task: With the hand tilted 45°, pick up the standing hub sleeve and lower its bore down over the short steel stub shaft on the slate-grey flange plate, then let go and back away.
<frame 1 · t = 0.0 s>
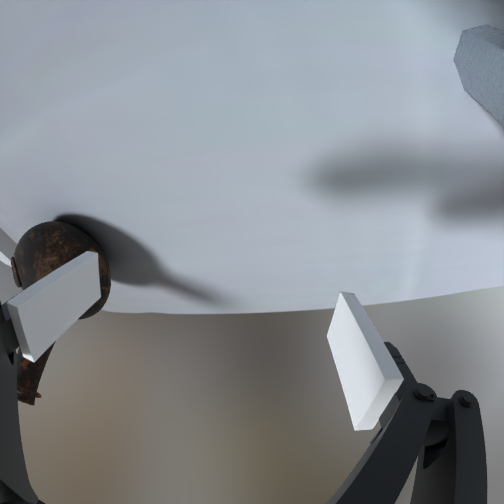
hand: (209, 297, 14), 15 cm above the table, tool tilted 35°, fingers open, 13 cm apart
dark brown rounded piece: (77, 240, 40), on the table
hub: (488, 65, 12), on the table
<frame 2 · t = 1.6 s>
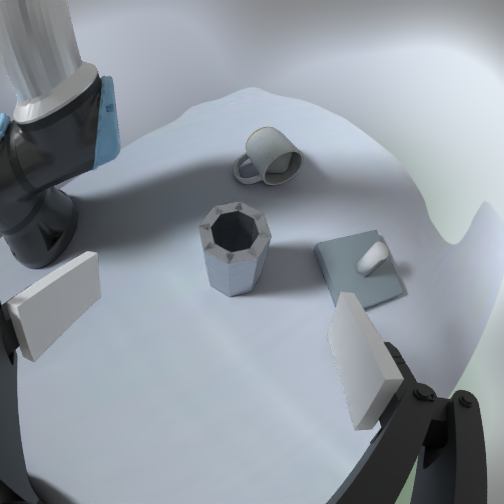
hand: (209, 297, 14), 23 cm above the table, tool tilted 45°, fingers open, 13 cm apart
hub: (233, 270, 39), on the table
ceramic mug: (263, 172, 48), on the table
peg block: (357, 273, 41), on the table
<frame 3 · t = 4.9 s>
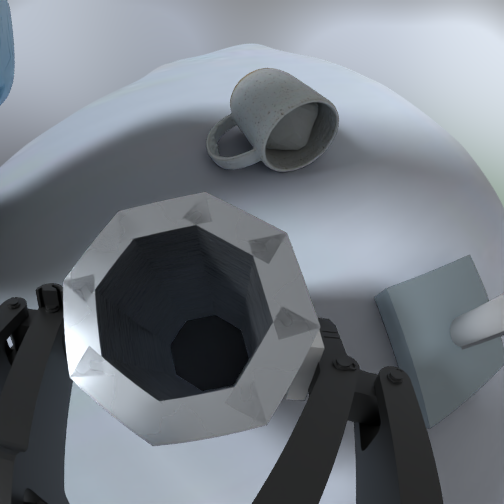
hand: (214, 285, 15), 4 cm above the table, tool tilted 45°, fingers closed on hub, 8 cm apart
hub: (208, 352, 17), on the table, touching gripper
ceramic mug: (264, 150, 26), on the table
peg block: (444, 337, 18), on the table
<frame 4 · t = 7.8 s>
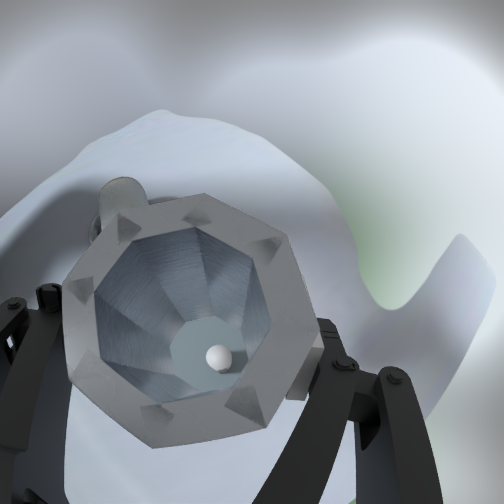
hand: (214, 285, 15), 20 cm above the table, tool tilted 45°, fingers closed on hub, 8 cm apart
hub: (208, 353, 17), point 16 cm above the table, touching gripper
ceramic mug: (124, 230, 39), on the table
peg block: (221, 362, 32), on the table
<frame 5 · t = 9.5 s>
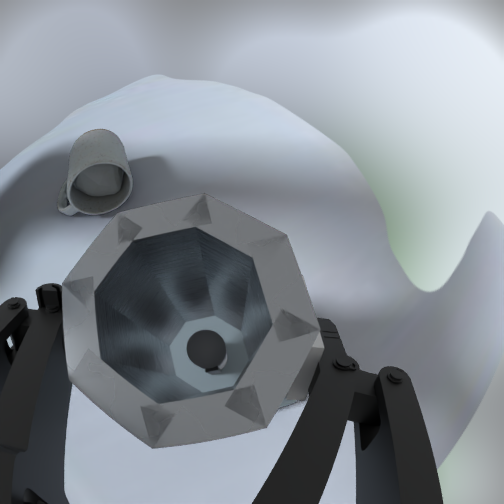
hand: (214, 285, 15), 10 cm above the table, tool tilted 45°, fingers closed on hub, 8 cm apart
hub: (208, 353, 17), point 7 cm above the table, touching gripper
ceramic mug: (98, 195, 31), on the table
peg block: (214, 359, 23), on the table
when the fingers open (8 cm above the table, at t = 10.7 s): hub drops 2 cm, resting on peg block.
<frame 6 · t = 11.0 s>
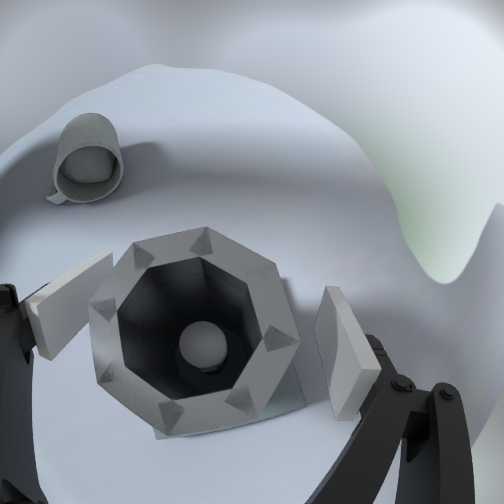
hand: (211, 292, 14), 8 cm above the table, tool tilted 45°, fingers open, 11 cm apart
hub: (210, 357, 19), point 2 cm above the table, touching peg block
ceramic mug: (88, 183, 28), on the table
peg block: (213, 358, 21), on the table
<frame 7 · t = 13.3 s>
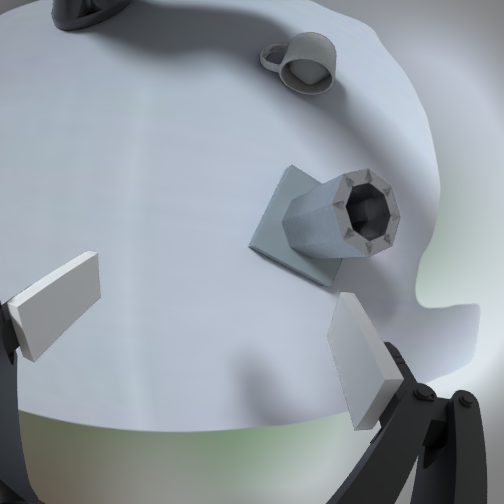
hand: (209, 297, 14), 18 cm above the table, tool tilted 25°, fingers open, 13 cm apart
hub: (311, 225, 33), point 2 cm above the table, touching peg block
ceramic mug: (291, 72, 36), on the table
peg block: (305, 227, 35), on the table
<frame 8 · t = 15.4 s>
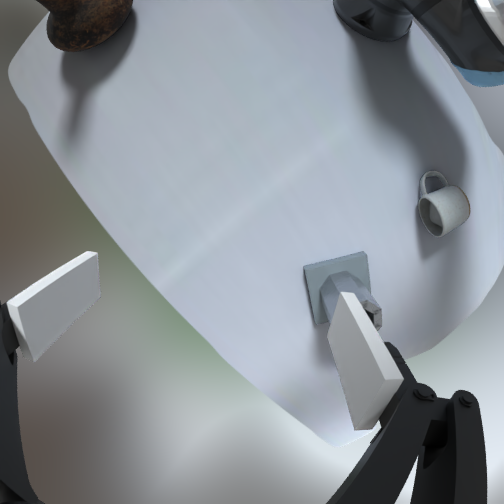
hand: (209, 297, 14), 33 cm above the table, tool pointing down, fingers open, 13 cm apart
dark brown rounded piece: (103, 22, 34), on the table
hub: (340, 291, 47), point 2 cm above the table, touching peg block
ceramic mug: (431, 199, 43), on the table
peg block: (338, 286, 49), on the table
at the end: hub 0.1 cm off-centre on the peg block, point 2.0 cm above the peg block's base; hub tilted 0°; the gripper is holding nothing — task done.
